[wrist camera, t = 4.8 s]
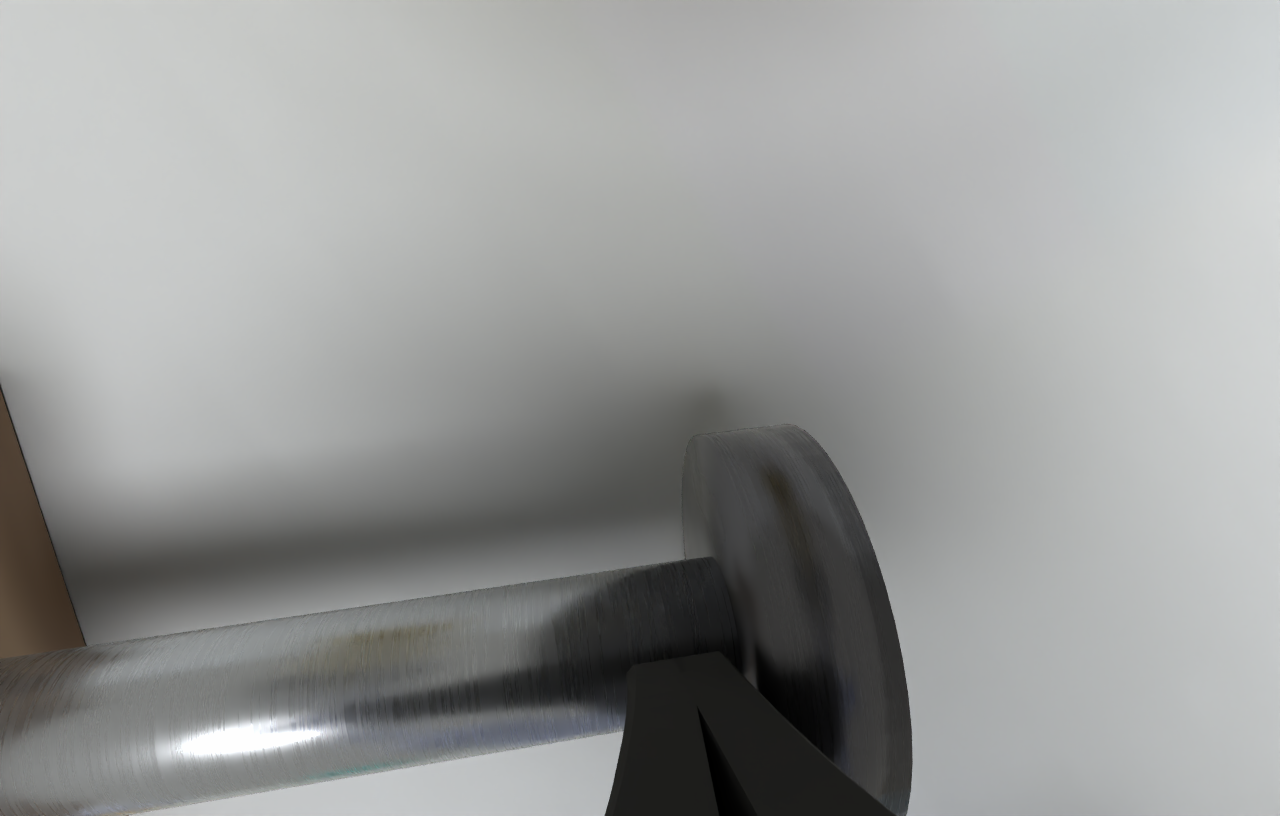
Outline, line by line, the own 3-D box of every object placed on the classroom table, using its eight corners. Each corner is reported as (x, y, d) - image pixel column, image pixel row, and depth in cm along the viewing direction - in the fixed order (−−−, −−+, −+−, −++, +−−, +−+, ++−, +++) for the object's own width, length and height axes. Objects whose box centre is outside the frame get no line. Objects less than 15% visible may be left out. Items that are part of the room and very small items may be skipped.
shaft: (746, 388, 13) (915, 510, 7) (761, 668, 15) (910, 967, 9) (-278, 509, 11) (-1240, 815, 5) (-138, 816, 13) (-757, 1327, 7)
